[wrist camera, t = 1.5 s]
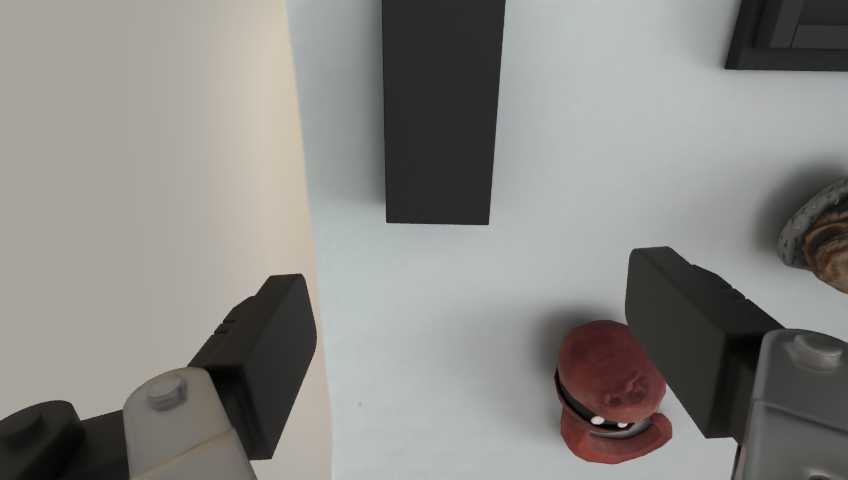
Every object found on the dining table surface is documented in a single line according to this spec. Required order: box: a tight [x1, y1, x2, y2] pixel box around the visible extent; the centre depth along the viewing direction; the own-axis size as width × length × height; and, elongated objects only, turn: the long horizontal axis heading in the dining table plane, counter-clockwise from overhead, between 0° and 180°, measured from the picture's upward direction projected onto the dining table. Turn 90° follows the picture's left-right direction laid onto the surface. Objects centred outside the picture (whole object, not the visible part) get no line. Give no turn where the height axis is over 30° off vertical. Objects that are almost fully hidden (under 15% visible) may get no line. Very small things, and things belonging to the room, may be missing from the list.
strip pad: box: [382, 0, 506, 225], centre depth 23 cm, size 12×6×3 cm, turn 179°
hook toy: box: [554, 320, 672, 464], centre depth 29 cm, size 11×6×12 cm
